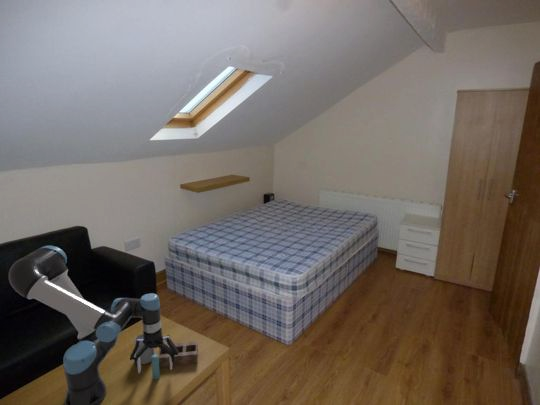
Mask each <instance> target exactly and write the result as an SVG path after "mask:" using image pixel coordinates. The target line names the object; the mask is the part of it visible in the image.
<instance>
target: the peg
mask: <svg viewBox="0 0 540 405" xmlns="http://www.w3.org/2000/svg"><path fill="white" fill-rule="evenodd" d="M151 371H152V379H153V380H155V381H156V380H159V379H160V377H161V374H160V367H159V359H158V353H157V354H156V353H155V354H154V355H152V356H151Z"/></svg>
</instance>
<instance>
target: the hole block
mask: <svg viewBox="0 0 540 405" xmlns="http://www.w3.org/2000/svg"><path fill="white" fill-rule="evenodd" d="M198 344H199V343H198V341H190V342H189V341H187V342H178V343H174V345H175V346H176V347H177V349H178V355H175V356H174V357H175V360H174V362H172V364H173V366H181V365H188V364H189V365H191V364H198V360H199V359H198V357H199V355H198V353H199V347H198ZM166 345H167V346H168V347H169V345H168V344H167V343H166ZM169 348H170V347H169ZM157 355H158V359H159V368H164V367H170V358H169V357H170V355H169V354H168V353H166V352H165V351H164V350H162V349H160V348H159V347H158V353H157Z"/></svg>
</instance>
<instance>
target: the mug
mask: <svg viewBox="0 0 540 405" xmlns="http://www.w3.org/2000/svg"><path fill="white" fill-rule="evenodd" d="M137 338H140V339H144V335H143V333H140V334H139V335H137V336H136V337H134V341H133V342H134V343H133V344H134V346H135V345H136V341H137ZM144 345H145V344H144V343H143V342H142V343H141V344H140V345H139V347H138V349H137V351H136V353H135V355H136V354H137V353H138V352H139V351H140V349H141V348H142V347H143V346H144ZM154 354H156V353H155V348H151V349H150V348H148V349H147V350H145V351H144V353H143V354H142V355H141V356H140V362H141V365H143V364H144V365H146V364H149V363H150V362H151V356H152V355H154ZM151 363H152V362H151Z"/></svg>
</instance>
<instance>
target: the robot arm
mask: <svg viewBox="0 0 540 405" xmlns="http://www.w3.org/2000/svg"><path fill="white" fill-rule="evenodd" d="M67 259H68V257H67V255H66V252H64V250H63V249H61V248H60V247H58V246H54V245H44V246H42V247H39V248H37V249H36V250H33V252H30V253H29V254H27V255H26V256H23V257H22V258H19V259H17V260H16V261H15V262H14V263H13V264H12V265H11V267H10V268H9V271H8V281H9V284H10V285H11V287H12V289H14V291H15V292H16V293H18V294H19V295H20V296H22V297H23V298H26V299H28V300H32V299H34V300H37V301H38V302H40V303H42V304H44V305H46V306H47V307H50V308H51V309H54V310H56V311H57V312H60V313H61V314H64V315H65V316H67V318H68V320H70V322H71V324H72V325H73V327H74V328H75V329H76V331H77V332H78V334H77V339H78V341H79V342H77V343H76V344H73V345H72V346H69V347H68V349H67V350H66V351H65V352H64V355H63V362H62V364H63V370H64V375H65V380H66V381H65V382H66V385H67V386H66V387H67V389H66V394H65V397H64V405H99V404H101V402H102V401H104V399H105V397H106V395H107V384H106V383H105V382H104V380H103V379H102V377H101V376H100V375H101V374H100V370H99V368H100V365H101V363H102V362H103V360H104V359H105V358H106V357H107V356H108V354H109V353H111V352H110V351H112V349H113V348H114V347H115V345H116V343H117V342H118V339H119V335H120V334H121V332H122V330H123V329H124V327H126V326H127V323H128V322H129V321H130V319H131V318H140V319H141V320H142V321H141V323H142V329H143V330H142V334H143V335H144V339H140V338H137V341H136V345H135V344H134V347H133V349H132V352H131V354H130V357H129V361H134V365H135V367H137V373H138V374H141V371H142V364H141V362H140V356H141V355H142V354H143V353H144V351H145V350H147V349H148V348H150V349H151V348H154V349H157V348H158V349H159V348H160V349H162V350H164V351H165V352H166V353H168V354H169V355H170V357H169V358H170V366H169V369H170V371H171V370H173V366H174V365H173V364H172V362H174V360H175V357H174V356H175V355H178V349H177V347H176V346H175V345H174V344H175V343H174V341H172V339H171V336H170V334H167V335H166V336H163V330H162V319H161V318H162V317H161V304H160V296H159V295H158V294H156V293H153V292H152V293H151V292H149V293H146V294H143V295H142V296H141V297H140V298H132V297H118V298H115V299H114V300H113V302H112V303H111V307H110V311H107V310H105V309H103V308H102V307H100V306H98V305H95V304H94V303H93V302H90V301H88V300H86V299H85V298H84V297H83V295H82V294H81V292H80V291H79V289H78V288H77V287H76V286H75V284H74V283H73V281H72V280H71V278H70V277H69V276H68V272H69V269H68V266H66V264H67V261H68V260H67ZM142 342H143V343H144V344H145V345H144V346H143V347H142V348H141V349H140V351H139V352H138V353H137V354H136V351H137V349H138V347H139V345H140V344H141V343H142ZM167 344H168V345H169V347H170V348H169V347H168V346H167Z"/></svg>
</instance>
